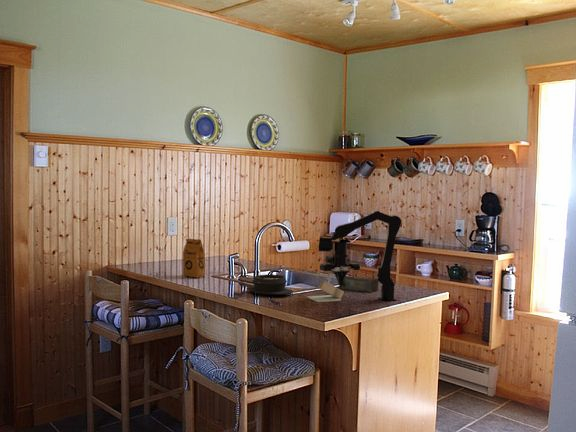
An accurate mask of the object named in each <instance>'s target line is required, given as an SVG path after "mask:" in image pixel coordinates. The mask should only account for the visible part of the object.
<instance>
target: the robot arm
mask: <svg viewBox="0 0 576 432" xmlns="http://www.w3.org/2000/svg"><path fill="white" fill-rule="evenodd" d="M375 221H381V222H384V223H386V224H387V238H386V242H385V245H384V246H385V248H384V251H383V252H384V253H383V256H382V261H381V265H377V270H376V273H375V275H376V279H378V281H379V284H380V285H381V286H380V287H381V288H380V297H378V299H379V300H381V301H384V302H388V301H389V302H390V301H397V300H398V299H397V298H396V297H395V284H396V283H395V281H394V280H393V279H392V278H391V263H392V258H393V254H394V248H395V244H396V238H397V235H398V233H399V231H400V228H401V226H402V219H401V217H400V216H398V215H396V214H393V215H389V214H386V213H383V212H382V211H379V210H375V211H373V213H370V214H367V215H365V216H362V217H360V218H359V219H356V220H355V221H352V222H351V221H350V222H347V223H343V224H339V225H338V226H336V227H335V230H334V233H333V234H332V235H331V237H324V236H320V237H319V239H318V242H319V243H318V252H327V253H328V252H329V253H331V251H333V250H334V251H333V254H332V256H330V255H326V256H325V263H320V265H319V270H320V271H323V272H332V273H333V274H334V276H335V279H336V282H337V284H338V286H339V285H341V284H342V282H343V280H344V278H345V276H347V275H348V273H350V270H349V269H353V271H360V270H361V265H360V264H359V263H358V262H348V263H347V258H348V257H349V255H348V254H347V248H348V246H347V245H348V244H351V240H350V239H349V237H348V236H349V235H350V234H352V233H353V232H354V231H355V230H357V229H359V228H362V227H364V226H367V225H369V224H371V223H373V222H375ZM345 237H346V238H345ZM338 239H339V240H338Z"/></svg>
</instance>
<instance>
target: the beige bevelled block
mask: <svg viewBox="0 0 576 432" xmlns="http://www.w3.org/2000/svg"><path fill="white" fill-rule="evenodd" d="M318 289H320V290H321V291H323V292H325V293H327V294H328V295H331V296H333V297H336V298H338V299H340V300H342V297H343V295H344V293H345V291H344V290H343V289H340V288H339V287H337V286H335V285H333V284H331V283H330V282H328V281H325V280H323V279H322V280H321V281H320V284H319V285H318Z"/></svg>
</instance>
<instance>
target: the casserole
mask: <svg viewBox="0 0 576 432" xmlns="http://www.w3.org/2000/svg"><path fill="white" fill-rule="evenodd" d="M252 283H253V286H248V287H246V288H245V289H246V290H247V291H251V292H252V293H255V294H257V295H259V296H269V297H272V296H273V297H274V296H279V295H280V296H281V295H289V294H292V293H294V290H293V289H289V288H287V287H286V284H287V283H288V281H287V279H286V277H285V276H284V275H281V274H280V275H279V274H259V275H255V276H254V278H253V279H252Z"/></svg>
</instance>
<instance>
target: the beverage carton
mask: <svg viewBox="0 0 576 432" xmlns="http://www.w3.org/2000/svg"><path fill="white" fill-rule="evenodd" d="M379 284H380V282H379V281H378V278H374V277H361V276H360V277H359V276H351V275H346V276H345V278H344V280H343V282H342V284H341V285H338V289H340V290H347V291H348V290H350V291H357V292H358V291H359V292H367V293H374V292H377V291H379Z"/></svg>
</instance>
